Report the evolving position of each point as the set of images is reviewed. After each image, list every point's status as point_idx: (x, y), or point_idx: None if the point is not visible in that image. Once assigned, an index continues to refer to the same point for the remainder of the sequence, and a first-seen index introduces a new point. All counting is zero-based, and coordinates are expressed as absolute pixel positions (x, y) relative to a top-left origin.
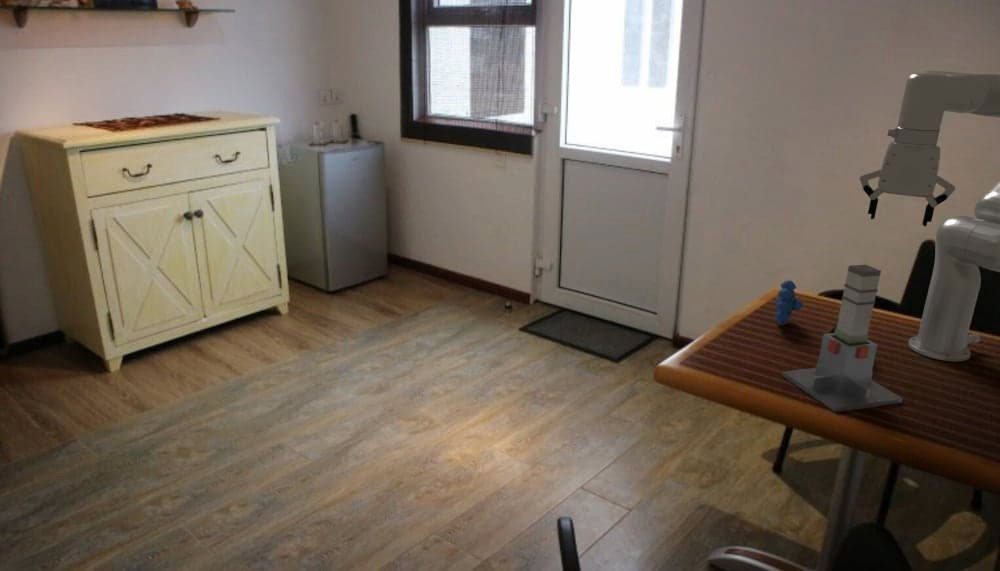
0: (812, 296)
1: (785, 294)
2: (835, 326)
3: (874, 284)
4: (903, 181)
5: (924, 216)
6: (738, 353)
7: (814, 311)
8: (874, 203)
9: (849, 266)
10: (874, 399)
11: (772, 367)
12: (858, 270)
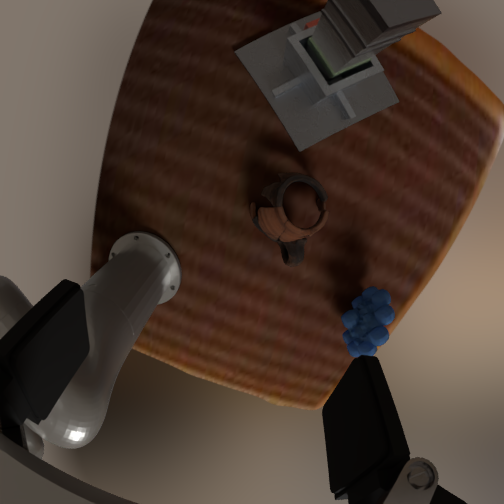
0: (282, 401)
1: (388, 307)
2: (313, 230)
3: None
4: None
5: (54, 326)
6: (440, 173)
7: (293, 361)
8: (398, 435)
9: (439, 10)
10: (278, 36)
11: (405, 130)
12: None
